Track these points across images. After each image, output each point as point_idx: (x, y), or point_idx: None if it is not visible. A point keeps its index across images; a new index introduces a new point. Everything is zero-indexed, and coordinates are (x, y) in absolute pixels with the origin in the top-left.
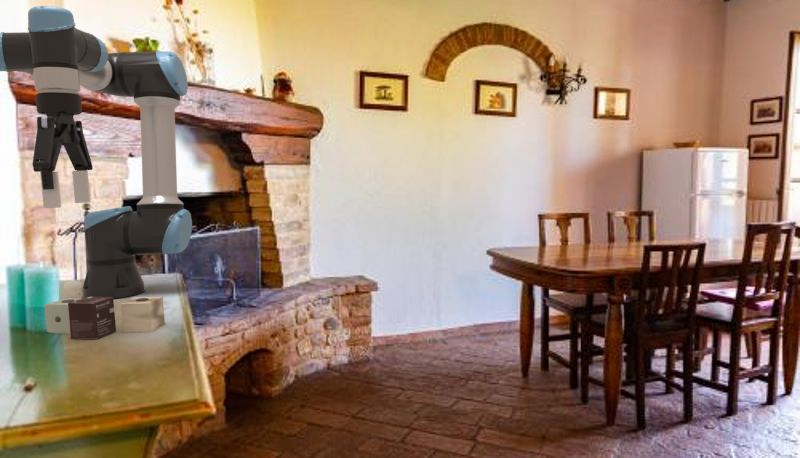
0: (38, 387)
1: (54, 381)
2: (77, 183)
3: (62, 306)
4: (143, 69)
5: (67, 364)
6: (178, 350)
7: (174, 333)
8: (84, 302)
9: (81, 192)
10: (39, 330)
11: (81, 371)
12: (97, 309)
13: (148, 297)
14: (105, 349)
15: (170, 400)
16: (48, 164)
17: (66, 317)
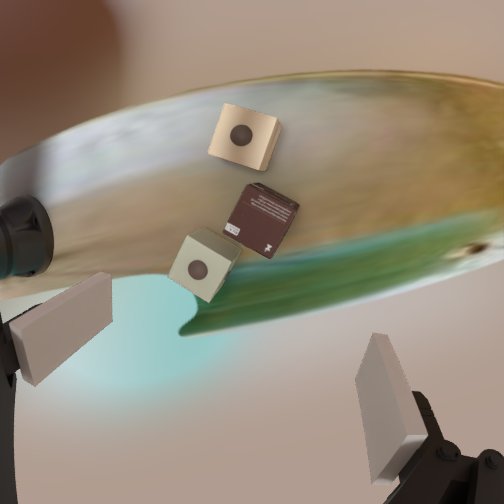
0: (480, 239)
1: (470, 226)
2: (66, 342)
3: (225, 273)
4: None
5: (415, 223)
6: (404, 87)
7: (307, 92)
8: (281, 229)
9: (88, 313)
10: None
11: (449, 202)
12: (290, 205)
13: (218, 128)
14: (363, 183)
15: None
16: (498, 458)
17: (233, 262)
